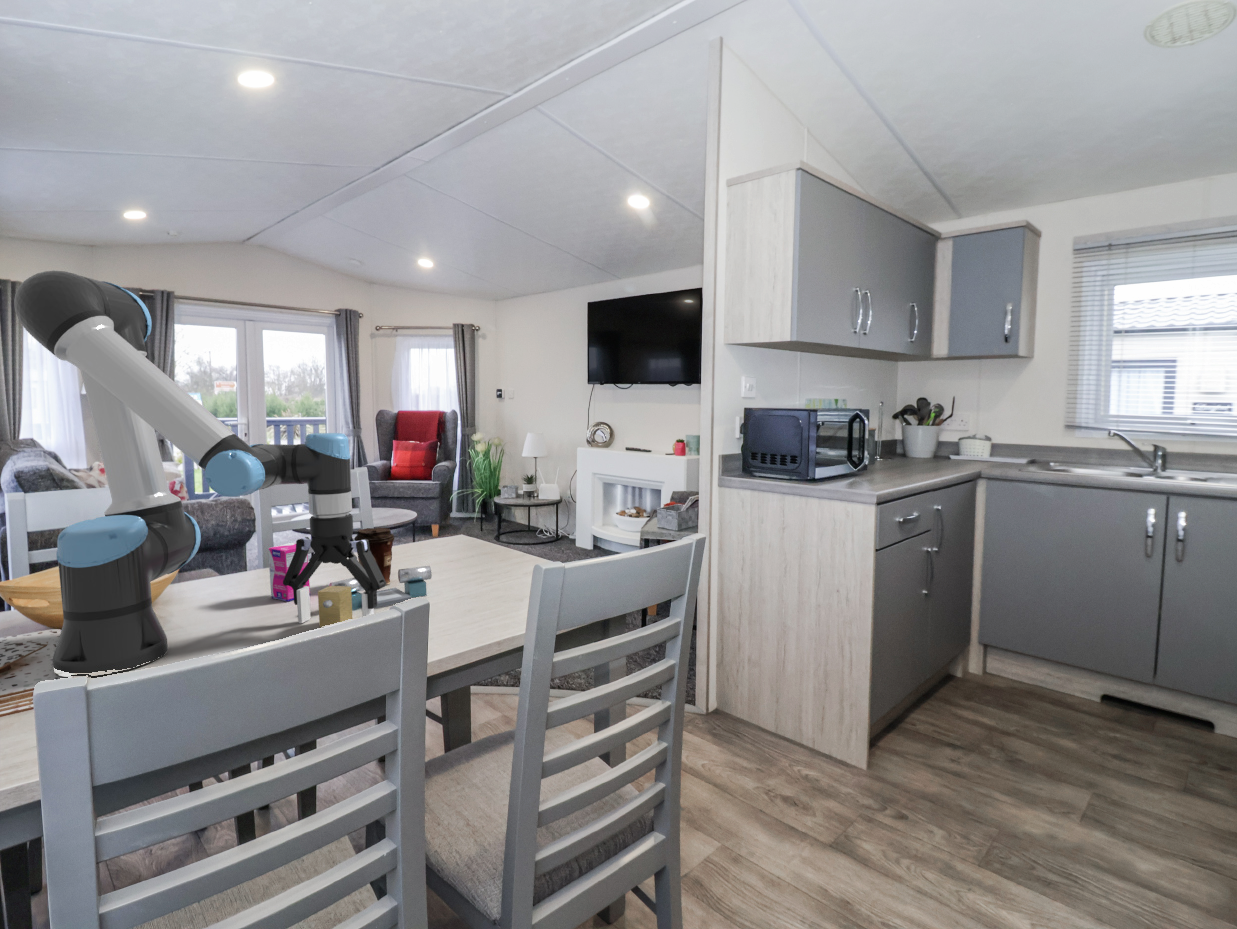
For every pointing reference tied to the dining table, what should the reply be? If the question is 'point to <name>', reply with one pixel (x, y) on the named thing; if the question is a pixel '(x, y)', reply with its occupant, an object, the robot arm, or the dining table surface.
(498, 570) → the dining table surface
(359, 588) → the shaft
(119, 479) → the robot arm
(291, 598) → the supplement box
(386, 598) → the cradle
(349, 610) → the block
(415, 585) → the shaft
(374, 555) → the coffee cup
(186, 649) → the dining table surface
